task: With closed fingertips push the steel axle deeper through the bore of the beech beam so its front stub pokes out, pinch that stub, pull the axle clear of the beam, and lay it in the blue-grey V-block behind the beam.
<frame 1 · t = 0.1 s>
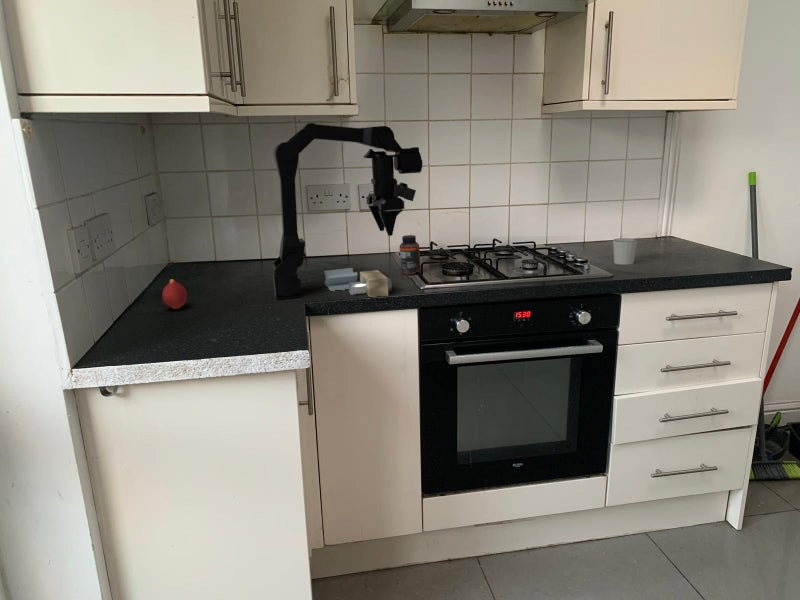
hand: (386, 233, 161), 15 cm above the worktop, tool pointing down, fingers open, 9 cm apart
supplement bottle: (410, 273, 178), on the worktop
grey cup: (623, 263, 179), on the worktop
beam: (374, 291, 158), on the worktop
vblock: (341, 286, 166), on the worktop
axle: (370, 286, 157), point 2 cm above the worktop
onion: (177, 310, 150), on the worktop
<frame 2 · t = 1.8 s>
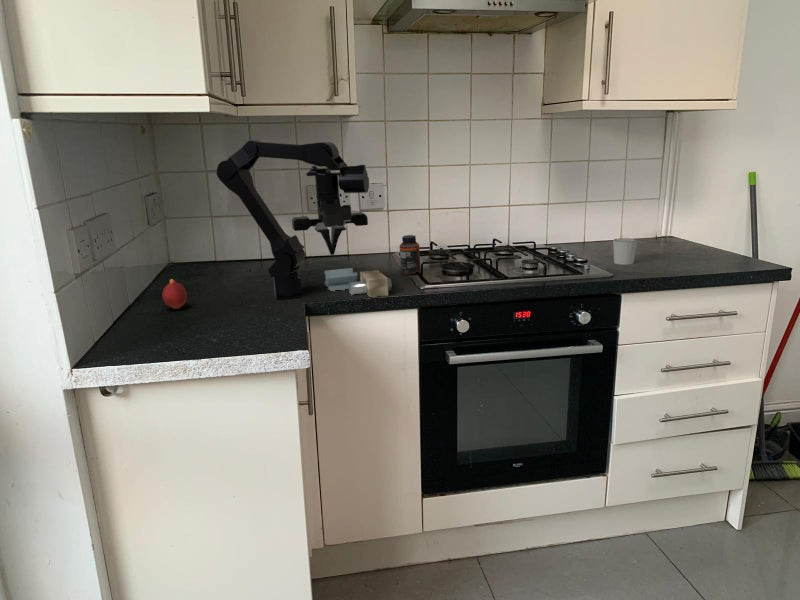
hand: (332, 254, 152), 11 cm above the worktop, tool pointing down, fingers closed
nothing on the worktop moved.
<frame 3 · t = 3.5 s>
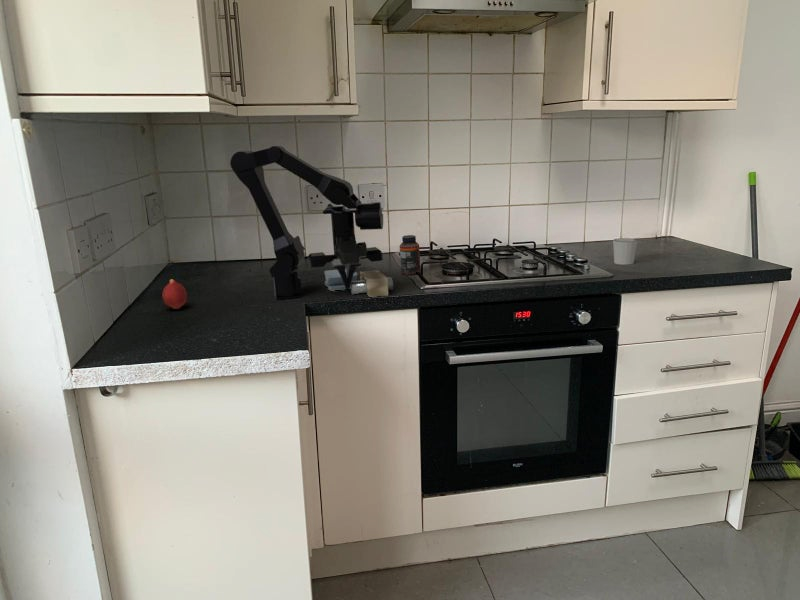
hand: (347, 289, 156), 2 cm above the worktop, tool pointing down, fingers closed
axle: (371, 285, 158), point 2 cm above the worktop, tilted 17°, touching gripper
everything else where it was.
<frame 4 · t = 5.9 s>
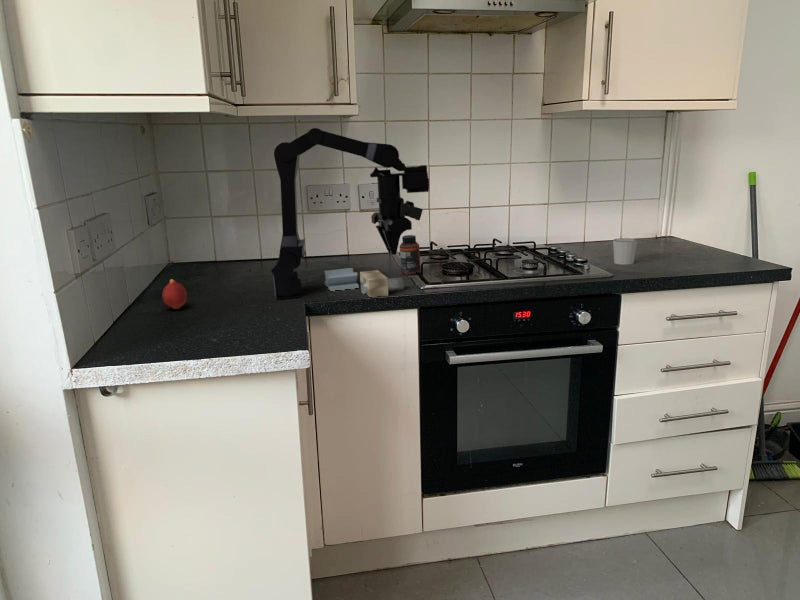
hand: (392, 253, 157), 10 cm above the worktop, tool pointing down, fingers open, 3 cm apart
axle: (382, 285, 158), point 2 cm above the worktop, tilted 8°
everything else where it was.
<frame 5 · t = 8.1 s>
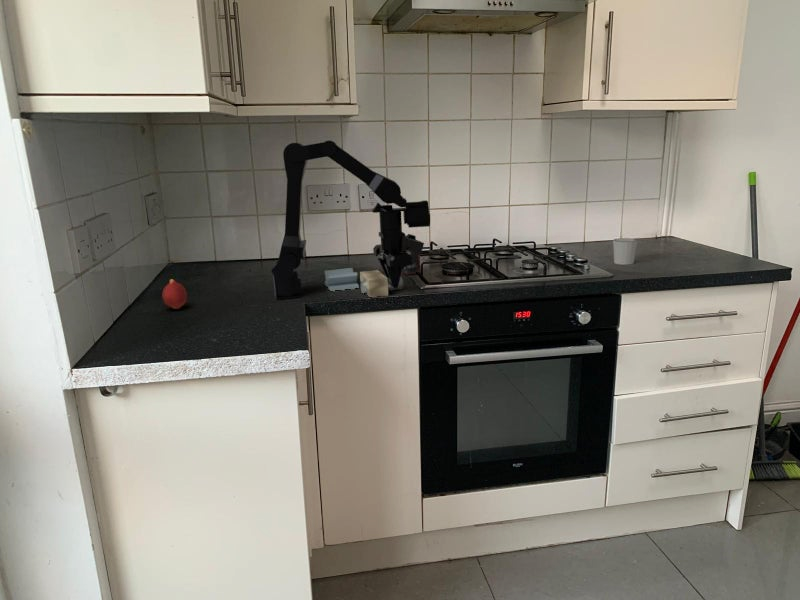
hand: (393, 286, 159), 1 cm above the worktop, tool pointing down, fingers closed on axle, 3 cm apart
axle: (381, 284, 158), point 2 cm above the worktop, touching gripper
everything else where it was.
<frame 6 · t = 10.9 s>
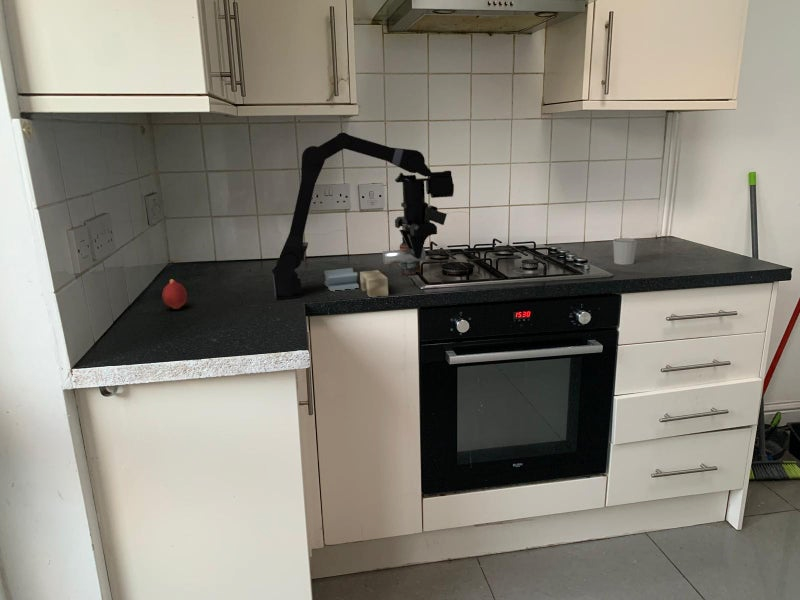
hand: (416, 257, 159), 8 cm above the worktop, tool pointing down, fingers closed on axle, 3 cm apart
axle: (404, 255, 158), point 9 cm above the worktop, touching gripper
everything else where it was.
when the fingers open (5 cm above the worktop, at t = 13.5 s): axle drops 2 cm, resting on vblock.
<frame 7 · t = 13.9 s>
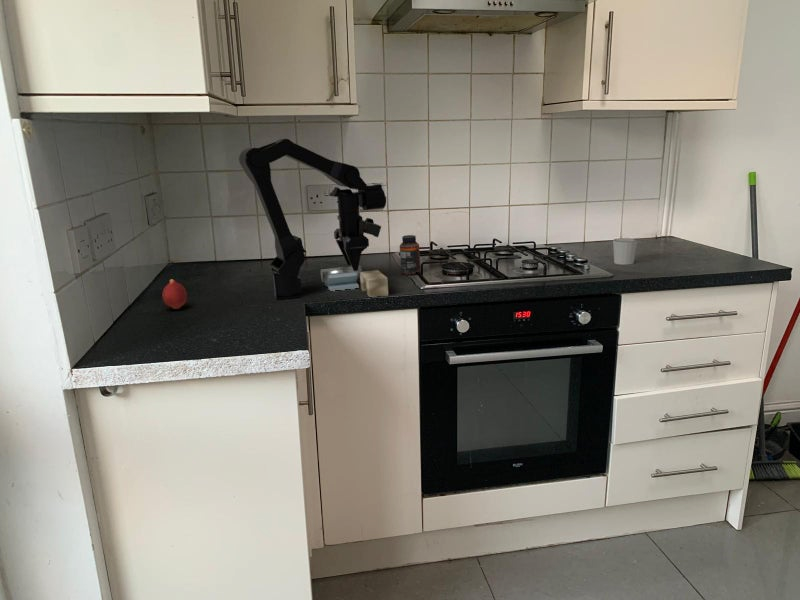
hand: (352, 267, 165), 5 cm above the worktop, tool pointing down, fingers open, 8 cm apart
axle: (341, 273, 165), point 4 cm above the worktop, touching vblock
everything else where it was.
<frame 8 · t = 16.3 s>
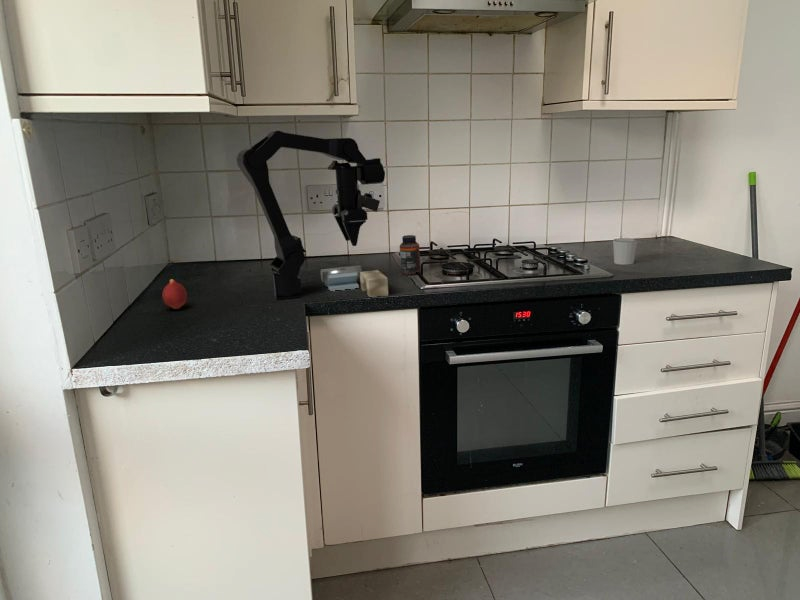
hand: (351, 243, 163), 12 cm above the worktop, tool pointing down, fingers open, 9 cm apart
nothing on the worktop moved.
at the end: axle inside the target area on the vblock (0.2 cm from its centre), point 3.7 cm above the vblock's base; the gripper is holding nothing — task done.
